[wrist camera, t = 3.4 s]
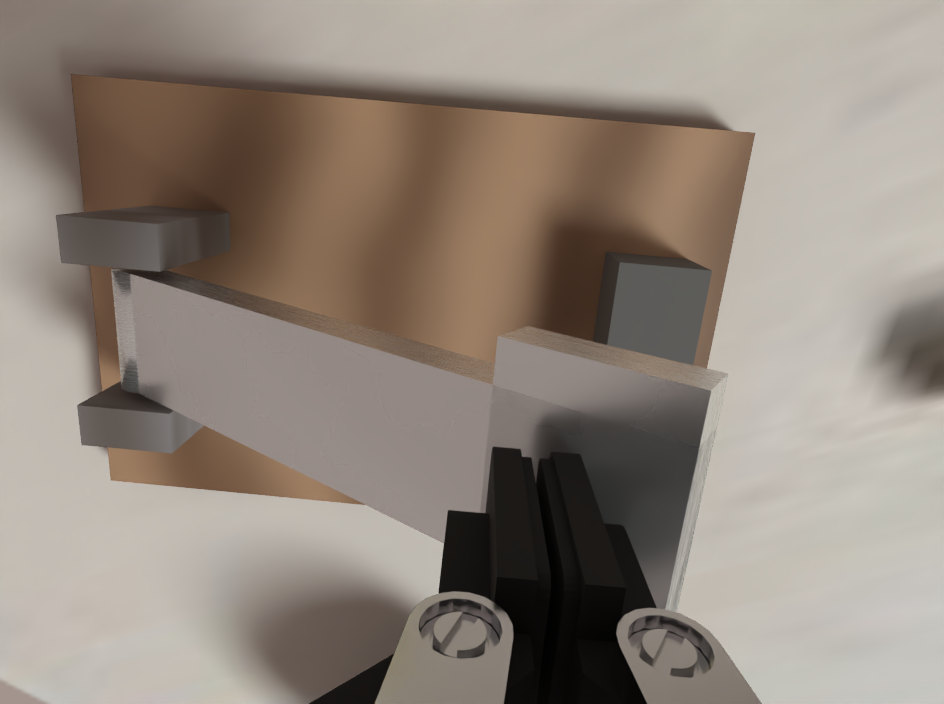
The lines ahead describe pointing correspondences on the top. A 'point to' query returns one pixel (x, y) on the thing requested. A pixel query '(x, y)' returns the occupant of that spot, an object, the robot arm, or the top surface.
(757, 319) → the top surface
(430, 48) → the top surface
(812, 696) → the top surface
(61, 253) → the walnut board
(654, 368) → the lever
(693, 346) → the catch block
